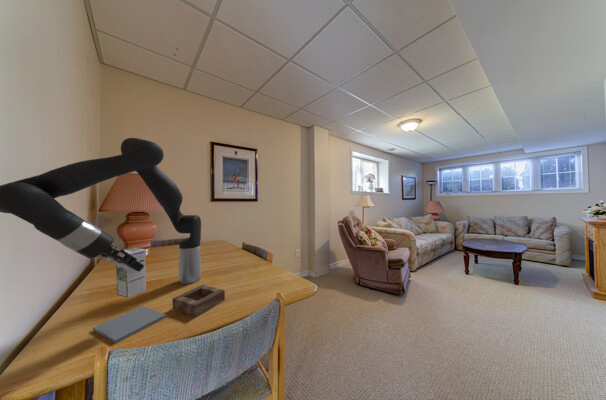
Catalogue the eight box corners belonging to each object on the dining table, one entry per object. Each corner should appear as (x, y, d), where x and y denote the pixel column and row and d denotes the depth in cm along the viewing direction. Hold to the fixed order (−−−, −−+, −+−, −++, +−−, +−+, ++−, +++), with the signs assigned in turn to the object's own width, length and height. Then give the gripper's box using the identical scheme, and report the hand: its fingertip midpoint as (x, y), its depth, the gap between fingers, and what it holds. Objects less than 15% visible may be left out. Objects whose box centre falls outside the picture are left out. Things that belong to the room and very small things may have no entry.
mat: (92, 330, 64) (92, 327, 64) (143, 308, 76) (143, 305, 76) (115, 343, 58) (115, 340, 58) (165, 317, 70) (165, 314, 70)
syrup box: (147, 290, 69) (146, 248, 69) (127, 298, 64) (126, 252, 64) (135, 288, 71) (135, 247, 71) (115, 296, 65) (114, 251, 65)
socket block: (172, 308, 76) (172, 298, 76) (202, 293, 88) (202, 284, 88) (195, 317, 71) (195, 305, 70) (224, 299, 82) (224, 290, 82)
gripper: (110, 229, 57) (156, 259, 68) (88, 227, 63) (133, 255, 74) (84, 253, 52) (138, 281, 63) (62, 247, 58) (115, 274, 69)
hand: (135, 267), depth 68 cm, fingers closed on syrup box, 6 cm apart
